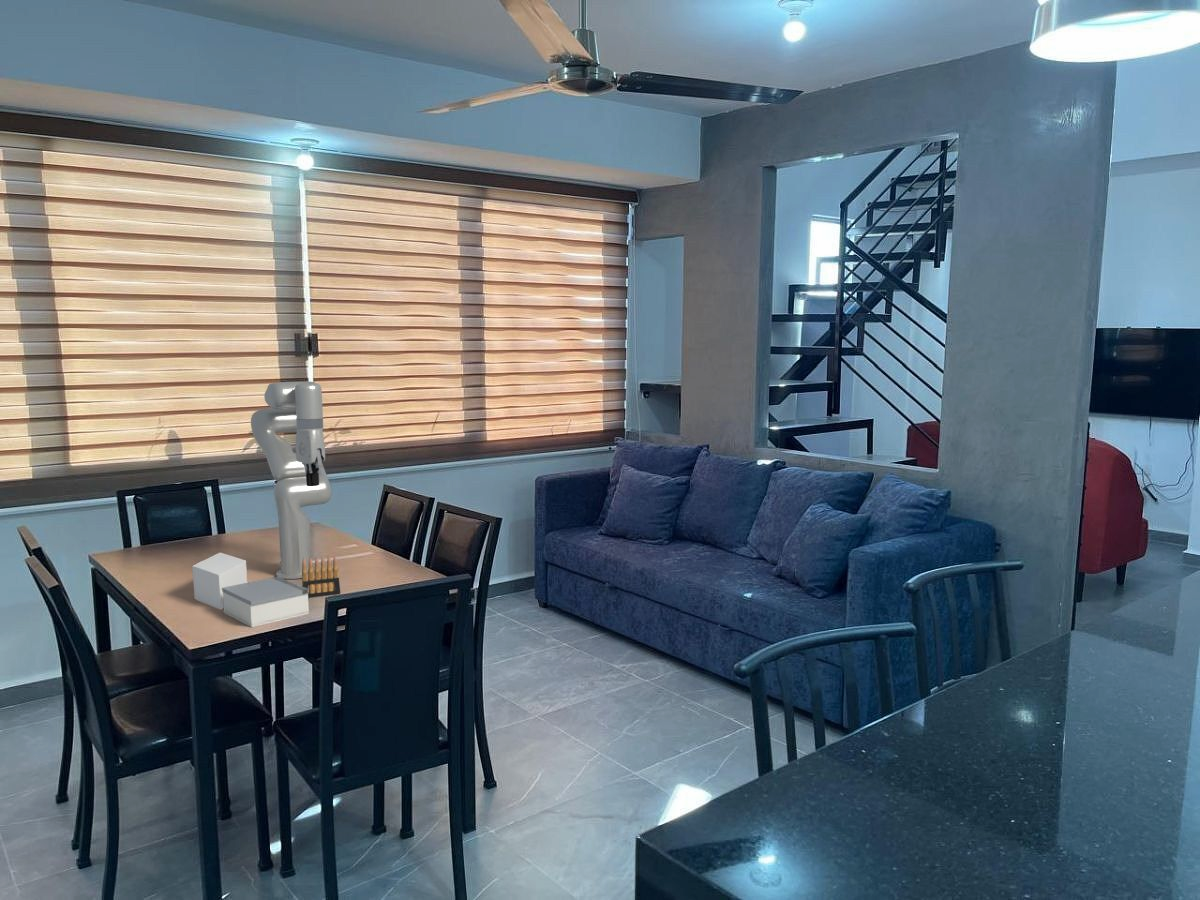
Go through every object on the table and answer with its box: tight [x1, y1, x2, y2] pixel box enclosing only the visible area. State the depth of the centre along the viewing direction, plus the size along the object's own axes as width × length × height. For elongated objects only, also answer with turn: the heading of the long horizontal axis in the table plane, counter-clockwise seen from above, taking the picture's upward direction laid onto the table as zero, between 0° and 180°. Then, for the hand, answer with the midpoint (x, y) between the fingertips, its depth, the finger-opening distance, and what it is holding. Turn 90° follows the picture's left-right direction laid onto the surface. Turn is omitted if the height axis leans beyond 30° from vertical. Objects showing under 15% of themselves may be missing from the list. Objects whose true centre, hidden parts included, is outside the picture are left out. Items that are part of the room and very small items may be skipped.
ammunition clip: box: [301, 554, 341, 599], centre depth 256 cm, size 11×2×12 cm, turn 114°
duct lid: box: [222, 576, 309, 605], centre depth 239 cm, size 19×16×1 cm
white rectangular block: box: [192, 552, 248, 611], centre depth 256 cm, size 14×29×10 cm, turn 23°
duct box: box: [223, 592, 310, 628], centre depth 240 cm, size 18×17×6 cm
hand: (312, 485), depth 258 cm, fingers closed
